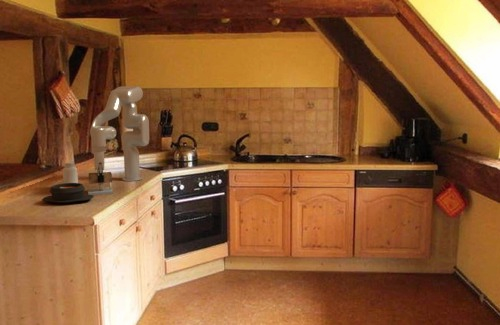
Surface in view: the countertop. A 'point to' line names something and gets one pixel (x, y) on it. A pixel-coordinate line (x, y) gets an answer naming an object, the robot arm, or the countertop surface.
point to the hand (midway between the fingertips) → (100, 180)
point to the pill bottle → (70, 173)
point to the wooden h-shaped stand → (94, 177)
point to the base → (100, 190)
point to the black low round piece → (67, 193)
